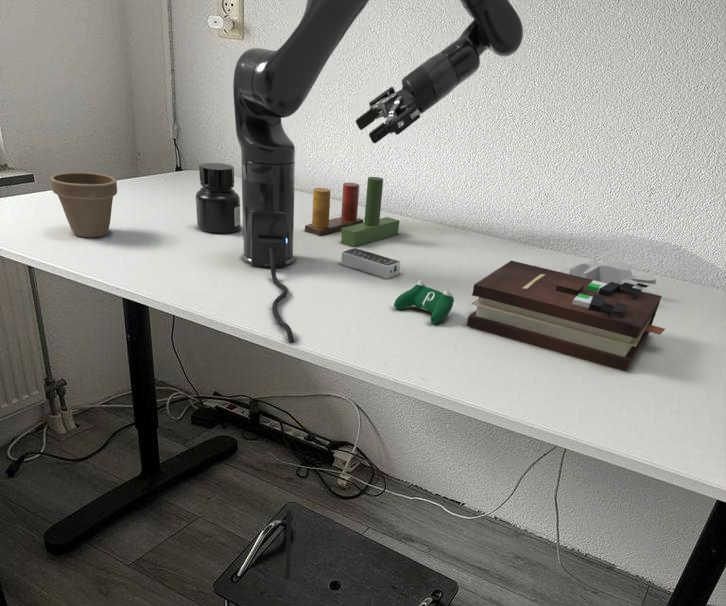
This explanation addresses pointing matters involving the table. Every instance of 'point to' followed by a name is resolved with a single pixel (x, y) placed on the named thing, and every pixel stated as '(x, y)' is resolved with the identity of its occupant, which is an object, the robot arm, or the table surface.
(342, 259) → the multiport hub
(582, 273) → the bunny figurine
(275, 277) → the robot arm
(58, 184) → the flower pot
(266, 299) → the table surface
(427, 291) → the gaming controller
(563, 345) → the decorative book
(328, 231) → the rod stand
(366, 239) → the green peg on base
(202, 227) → the ink bottle
